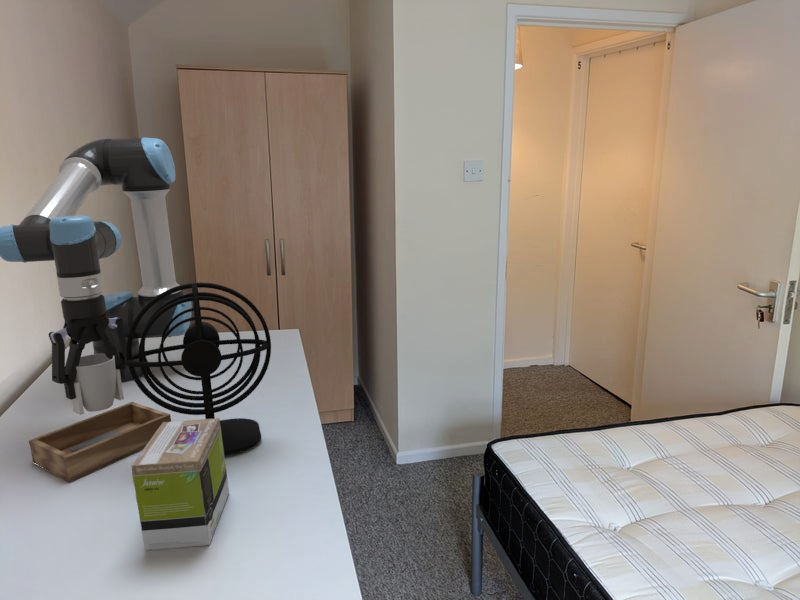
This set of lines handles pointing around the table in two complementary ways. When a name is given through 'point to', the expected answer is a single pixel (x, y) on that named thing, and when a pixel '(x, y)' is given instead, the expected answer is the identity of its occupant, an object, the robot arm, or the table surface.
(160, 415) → the wooden box
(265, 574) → the table surface
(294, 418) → the table surface
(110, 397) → the cup
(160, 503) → the tea box
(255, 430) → the desk fan
